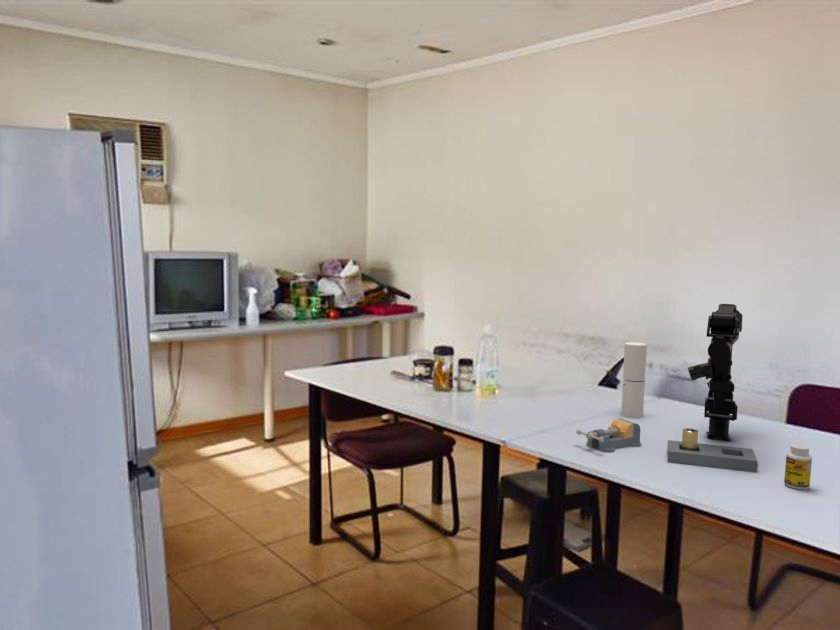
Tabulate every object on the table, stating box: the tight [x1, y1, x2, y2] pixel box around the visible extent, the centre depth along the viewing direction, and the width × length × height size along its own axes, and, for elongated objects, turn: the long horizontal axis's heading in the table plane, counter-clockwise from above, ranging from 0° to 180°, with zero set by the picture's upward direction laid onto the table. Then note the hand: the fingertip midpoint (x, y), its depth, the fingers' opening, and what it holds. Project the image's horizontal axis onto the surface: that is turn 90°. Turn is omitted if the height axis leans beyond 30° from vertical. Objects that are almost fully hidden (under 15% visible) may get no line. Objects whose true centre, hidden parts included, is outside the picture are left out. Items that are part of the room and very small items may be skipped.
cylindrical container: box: [620, 341, 648, 419], centre depth 231 cm, size 7×7×25 cm
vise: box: [575, 418, 642, 454], centre depth 197 cm, size 18×10×7 cm, turn 120°
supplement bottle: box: [783, 443, 813, 490], centre depth 166 cm, size 6×6×10 cm
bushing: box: [681, 427, 699, 451], centre depth 187 cm, size 4×4×8 cm
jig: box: [666, 439, 759, 473], centre depth 185 cm, size 11×22×3 cm, turn 71°
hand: (717, 409), depth 194 cm, fingers closed
